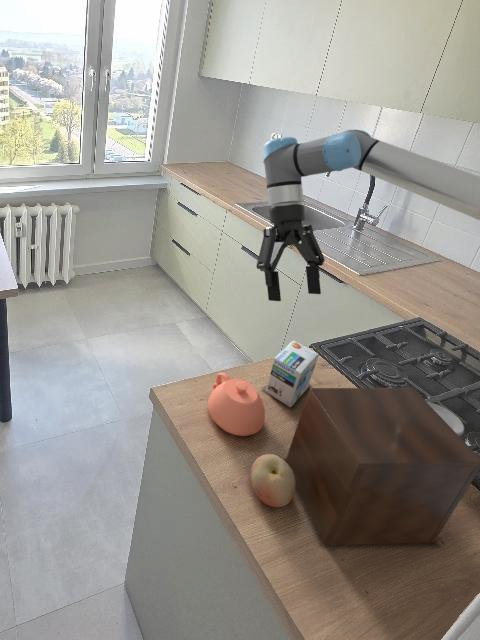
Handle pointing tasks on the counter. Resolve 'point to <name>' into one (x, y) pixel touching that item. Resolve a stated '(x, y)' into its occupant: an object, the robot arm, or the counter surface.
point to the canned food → (449, 418)
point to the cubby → (378, 466)
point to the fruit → (272, 480)
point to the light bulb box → (291, 373)
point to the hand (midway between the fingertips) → (295, 297)
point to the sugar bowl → (236, 406)
